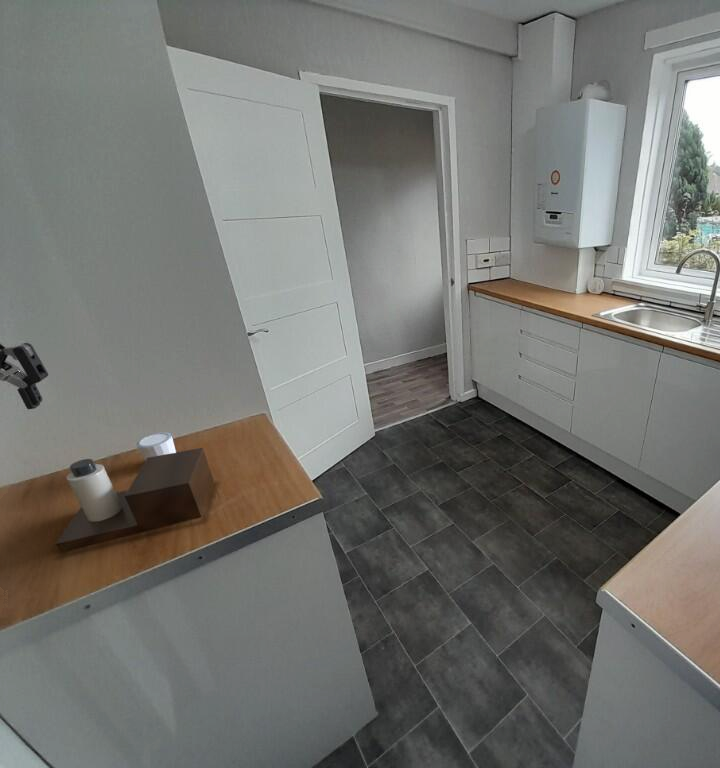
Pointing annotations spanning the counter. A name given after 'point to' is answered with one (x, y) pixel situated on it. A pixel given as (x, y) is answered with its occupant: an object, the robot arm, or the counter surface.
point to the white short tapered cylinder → (156, 445)
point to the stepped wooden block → (149, 501)
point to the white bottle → (93, 490)
